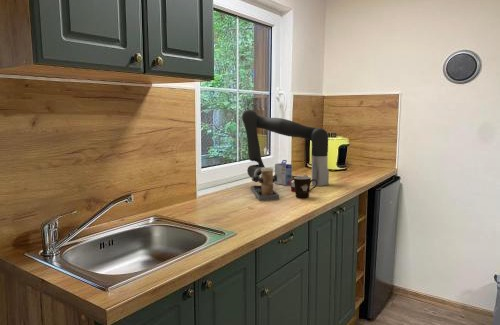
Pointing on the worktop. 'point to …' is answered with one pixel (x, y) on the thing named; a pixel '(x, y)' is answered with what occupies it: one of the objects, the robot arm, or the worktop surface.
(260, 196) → the holder tray
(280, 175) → the ink cartridge box
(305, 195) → the coffee mug
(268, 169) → the walnut peg
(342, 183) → the worktop surface
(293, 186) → the canned food
